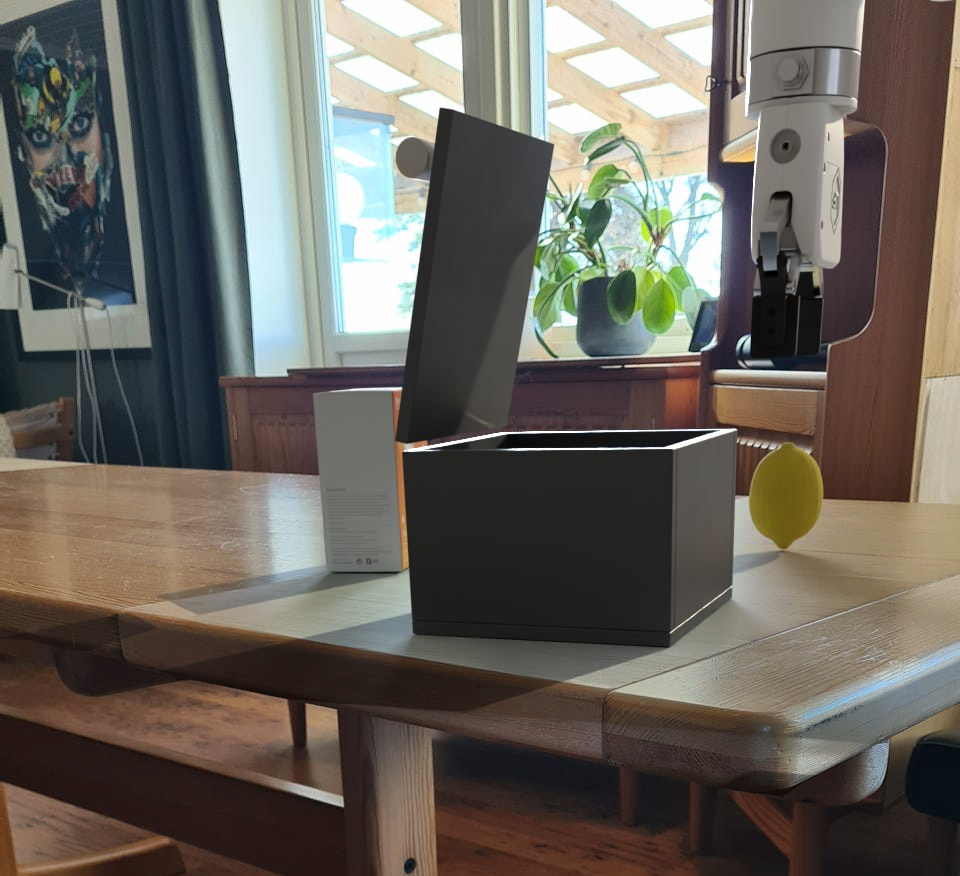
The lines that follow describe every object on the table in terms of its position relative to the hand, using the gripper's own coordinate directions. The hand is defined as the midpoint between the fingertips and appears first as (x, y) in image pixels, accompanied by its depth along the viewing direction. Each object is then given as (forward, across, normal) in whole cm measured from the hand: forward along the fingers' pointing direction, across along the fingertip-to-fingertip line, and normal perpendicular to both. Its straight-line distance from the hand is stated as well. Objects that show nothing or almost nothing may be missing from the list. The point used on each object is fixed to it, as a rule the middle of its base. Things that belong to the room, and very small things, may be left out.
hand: (786, 356), depth 95 cm
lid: (-4, -28, +12) cm, 31 cm away
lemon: (+14, 0, -1) cm, 14 cm away
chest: (+14, -28, +6) cm, 32 cm away
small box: (+15, -12, +28) cm, 34 cm away
